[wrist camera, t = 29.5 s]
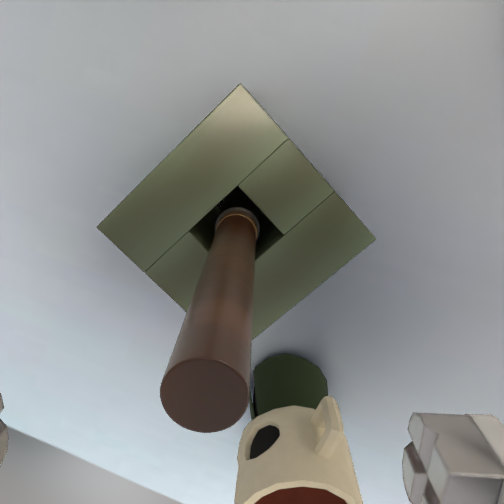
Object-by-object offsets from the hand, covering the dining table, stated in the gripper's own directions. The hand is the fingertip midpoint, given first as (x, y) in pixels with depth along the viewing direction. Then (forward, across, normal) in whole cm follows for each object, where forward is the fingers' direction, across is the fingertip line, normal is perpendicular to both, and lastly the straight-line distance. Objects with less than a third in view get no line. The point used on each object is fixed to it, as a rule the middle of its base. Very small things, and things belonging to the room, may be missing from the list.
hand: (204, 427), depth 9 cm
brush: (+23, 0, 0) cm, 23 cm away
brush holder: (+23, 0, 0) cm, 23 cm away
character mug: (+23, -4, +15) cm, 28 cm away
